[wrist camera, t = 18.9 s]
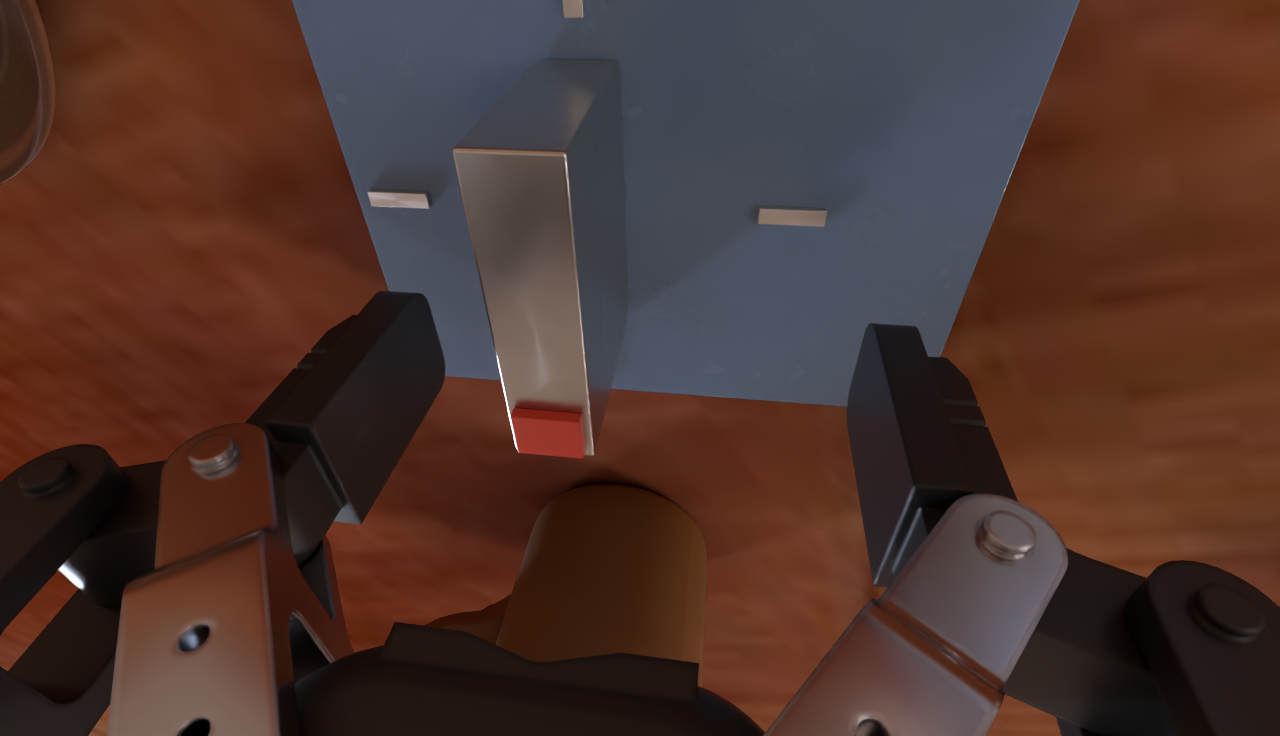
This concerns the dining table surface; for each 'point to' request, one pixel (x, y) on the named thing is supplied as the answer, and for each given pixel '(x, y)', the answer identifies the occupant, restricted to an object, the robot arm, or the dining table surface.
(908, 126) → the control panel
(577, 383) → the brushed steel block
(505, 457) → the dining table surface
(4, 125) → the cup and saucer
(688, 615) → the mug
